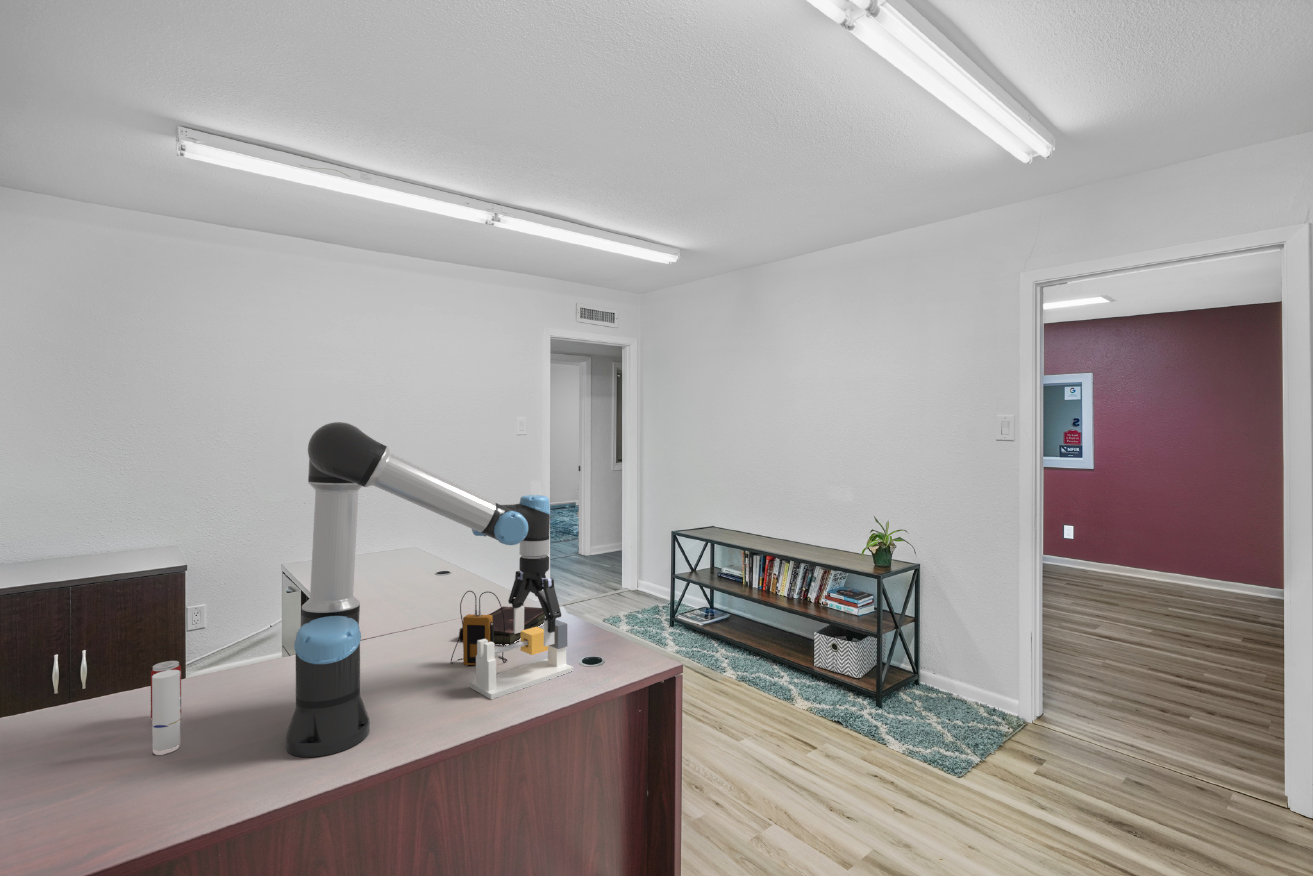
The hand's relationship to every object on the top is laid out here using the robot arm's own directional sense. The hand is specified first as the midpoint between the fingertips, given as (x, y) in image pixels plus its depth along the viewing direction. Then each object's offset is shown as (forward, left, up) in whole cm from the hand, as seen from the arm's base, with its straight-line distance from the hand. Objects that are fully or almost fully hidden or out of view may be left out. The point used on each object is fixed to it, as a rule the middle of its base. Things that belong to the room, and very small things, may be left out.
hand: (533, 638), depth 159 cm
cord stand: (-3, 0, -10) cm, 10 cm away
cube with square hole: (0, 0, -3) cm, 3 cm away
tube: (-72, +20, -10) cm, 75 cm away
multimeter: (-3, +20, -10) cm, 22 cm away
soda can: (-70, +37, -10) cm, 80 cm away
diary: (+15, +37, -10) cm, 41 cm away
